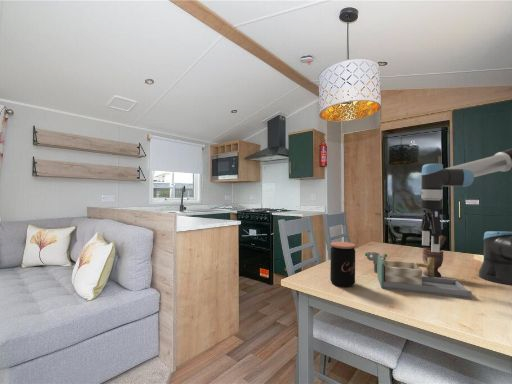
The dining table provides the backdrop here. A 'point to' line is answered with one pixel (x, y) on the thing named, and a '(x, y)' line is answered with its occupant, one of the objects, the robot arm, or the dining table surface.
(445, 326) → the dining table surface
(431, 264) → the crate
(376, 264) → the mechanical component
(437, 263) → the mortar and pestle
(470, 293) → the bay
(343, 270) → the coffee jar
